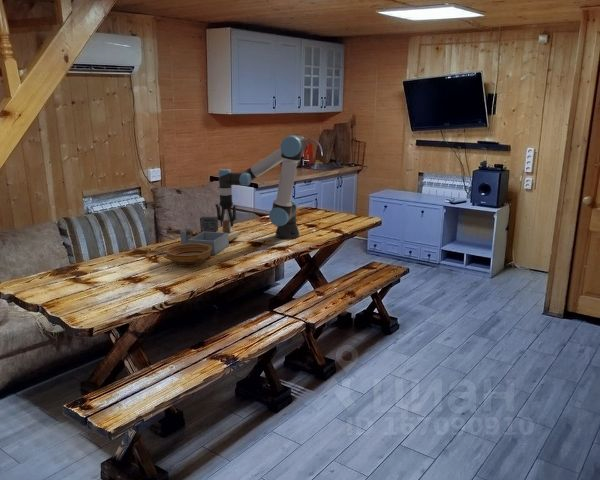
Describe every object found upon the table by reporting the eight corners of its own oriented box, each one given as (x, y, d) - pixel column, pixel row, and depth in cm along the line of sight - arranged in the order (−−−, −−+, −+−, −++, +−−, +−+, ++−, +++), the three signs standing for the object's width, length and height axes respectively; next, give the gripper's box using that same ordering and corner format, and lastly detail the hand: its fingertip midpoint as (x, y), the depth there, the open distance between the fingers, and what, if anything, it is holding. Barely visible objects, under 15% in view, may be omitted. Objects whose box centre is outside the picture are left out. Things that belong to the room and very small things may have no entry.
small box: (218, 231, 353) (218, 216, 350) (216, 234, 346) (215, 218, 344) (203, 231, 354) (202, 216, 351) (200, 234, 347) (199, 218, 345)
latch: (192, 233, 309) (192, 228, 308) (190, 234, 306) (190, 229, 305) (169, 232, 313) (169, 226, 312) (166, 233, 310) (166, 228, 309)
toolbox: (228, 246, 318) (227, 226, 315) (214, 255, 300) (213, 234, 297) (195, 243, 324) (194, 224, 321) (179, 252, 306) (177, 232, 302)
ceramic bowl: (179, 274, 267) (178, 259, 265) (152, 265, 283) (151, 250, 281) (225, 261, 288) (224, 247, 286) (198, 253, 304) (197, 239, 302)
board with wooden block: (241, 233, 338) (241, 219, 336) (229, 241, 320) (229, 226, 318) (219, 232, 342) (218, 218, 340) (206, 239, 324) (205, 224, 322)
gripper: (241, 193, 330) (242, 230, 336) (215, 192, 335) (217, 229, 341) (236, 196, 323) (237, 233, 329) (210, 194, 328) (212, 231, 334)
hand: (227, 231), depth 335 cm, fingers closed on board with wooden block, 4 cm apart
